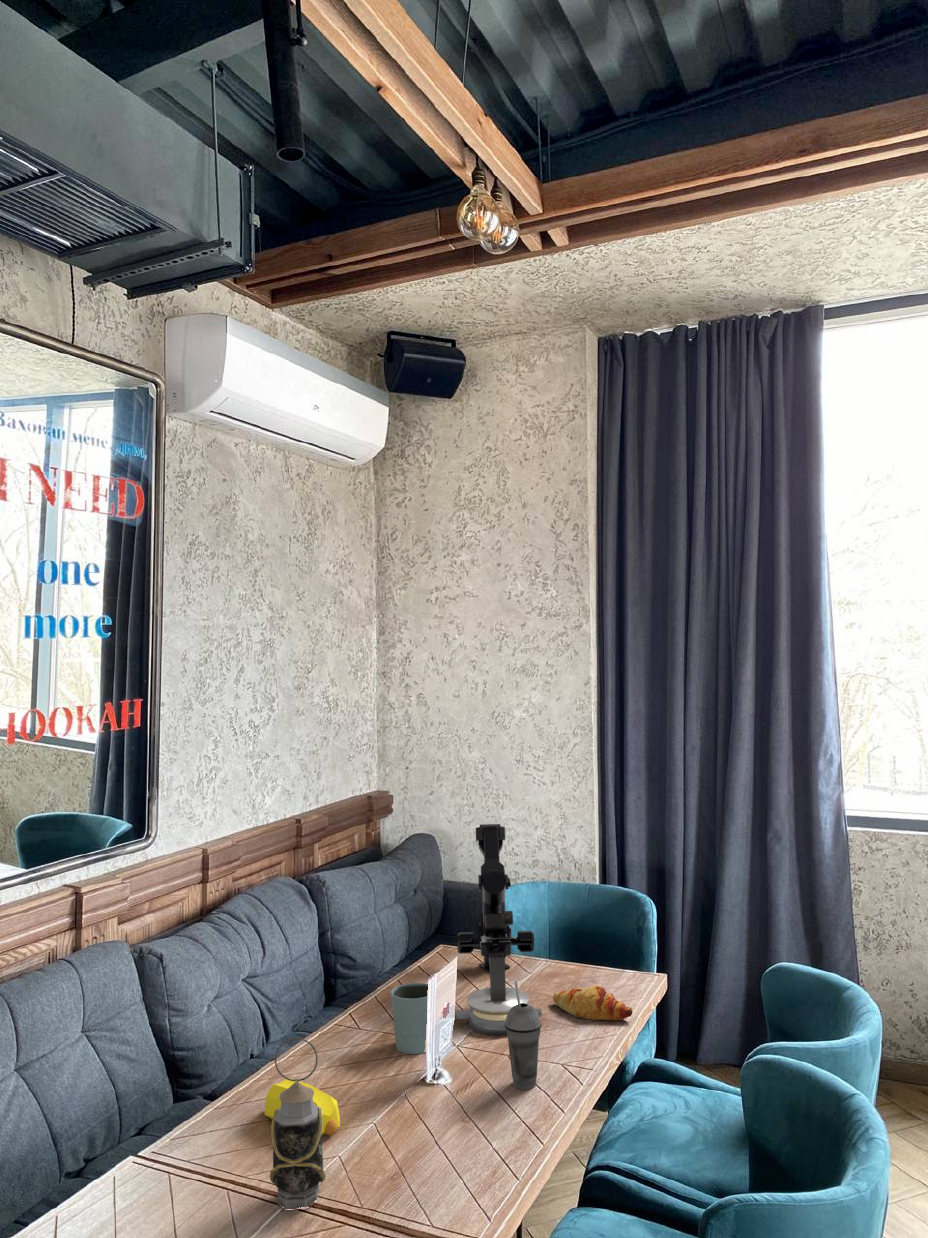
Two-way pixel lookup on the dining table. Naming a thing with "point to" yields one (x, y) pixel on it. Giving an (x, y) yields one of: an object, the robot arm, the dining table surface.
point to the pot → (486, 1021)
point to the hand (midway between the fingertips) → (497, 975)
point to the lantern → (297, 1144)
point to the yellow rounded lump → (319, 1099)
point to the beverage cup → (523, 1043)
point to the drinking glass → (410, 1017)
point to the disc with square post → (496, 990)
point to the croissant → (592, 1004)
